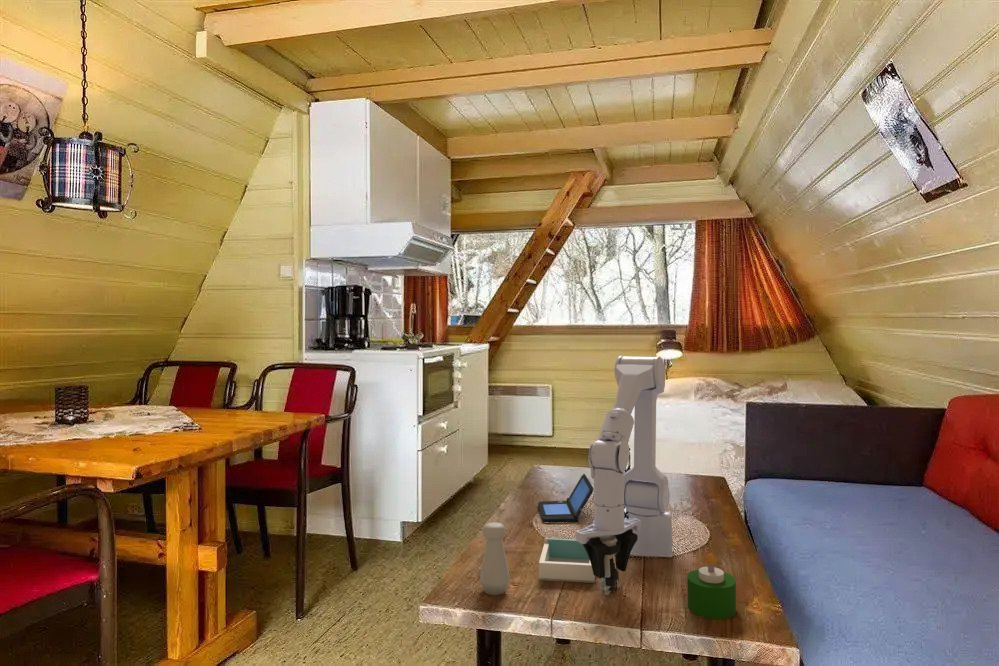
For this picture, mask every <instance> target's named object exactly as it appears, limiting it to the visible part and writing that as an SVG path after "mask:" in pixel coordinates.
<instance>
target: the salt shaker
mask: <svg viewBox="0 0 999 666" xmlns="http://www.w3.org/2000/svg"><path fill="white" fill-rule="evenodd" d="M482 535H483V538H485V544H484V550H483V558H482V562H481V569H480V576H479V582H480V584H481V586H482V588H483V589H484V592H485V594H487V595H491V596H497V595H503V594H505V591H506V590H507V587H508V585H509V583H510V579H511V578H510V571H509V566H508V562H507V561H508V560H507V557H506V556H507V555H506V552H505V551H506V550H505V546H504V541H503V538H504V537H505V535H506V527H505V525H504V524H503V523H500V522H487V523H486V524H484V525H483V529H482Z"/></svg>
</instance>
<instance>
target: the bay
mask: <svg viewBox="0 0 999 666" xmlns="http://www.w3.org/2000/svg"><path fill="white" fill-rule="evenodd" d="M541 551H542V552H541V554H540V557H539V562H538V569H539V570H538V571H539V572H538V577H539V578H538V580H539V581H549V582H550V581H552V582H566V583H567V582H571V583H586V584H587V583H588V584H595V583H596V582H595V581H596V580H595V578H596V576H595V575H594V574H593V570H592V566H591V562H590V560H588V559H568V558H551V557H549V543H544V544H543V547H542V550H541Z"/></svg>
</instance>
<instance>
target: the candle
mask: <svg viewBox="0 0 999 666" xmlns="http://www.w3.org/2000/svg"><path fill="white" fill-rule="evenodd" d="M706 563H707V566H703V567H702V566H701V567H700V568H699V569H694V570H691V571H690V572H689V573H688V574H687V577H686V579H687V581H686V582H687V583H686V584H687V588H686V589H687V590H686V591H687V608H688V610H689V611H690V612H691V613H692V614H694V615H696V616H699V617H702V618H704V619H710V620H726V619H730V618H733V617H734V616H735V615H736V614H737V580H736V578H735V577H734V576H733V575H731V574H729V573H727V572H725V571H723V570H722V569H721V568H718V567H715V565H716V557H715V555H714V554H713V553H710V552H709V554H708V555H707V557H706Z"/></svg>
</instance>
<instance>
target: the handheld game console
mask: <svg viewBox="0 0 999 666" xmlns="http://www.w3.org/2000/svg"><path fill="white" fill-rule="evenodd" d="M593 493H594V485H592V483H591V481H590V480H589V478H588V477H587V475H586V474H585V473H583V474H582V475H581V476H580V478H579V480H578V481H577V483H576V485H575V486H574V488H573V489H572V492H571V493H570V495H569V497H567V498H566V500H549V501H548V500H544V501H542V500H541V501H538V503H537V507H538V510H539V514H540V518H541V522H542V523H544V522H549V523H548V524H551V523H550V522H578V523H579V516H580V514H581V513H582V511H583V509H584V508H585V506H586V504H587V503H588V501H589V499H590V498H591V496H592V494H593Z"/></svg>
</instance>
